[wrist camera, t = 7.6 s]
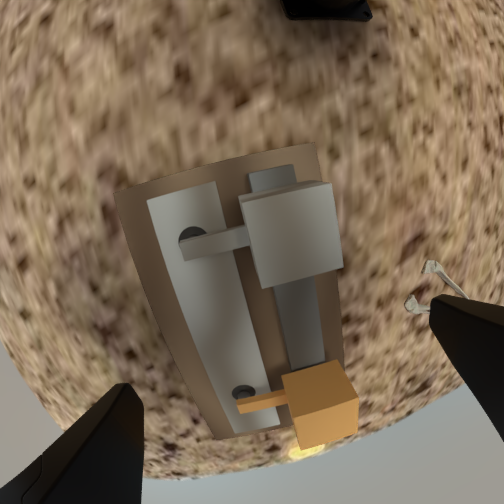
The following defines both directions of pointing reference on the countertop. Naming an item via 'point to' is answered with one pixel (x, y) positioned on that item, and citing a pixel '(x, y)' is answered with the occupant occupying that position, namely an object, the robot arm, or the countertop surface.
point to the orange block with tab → (313, 403)
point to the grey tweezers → (433, 267)
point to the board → (240, 277)
